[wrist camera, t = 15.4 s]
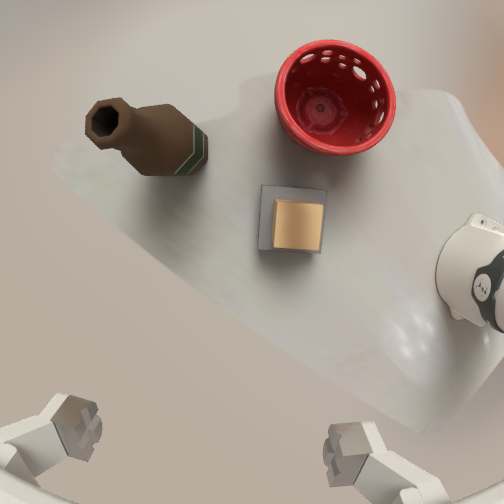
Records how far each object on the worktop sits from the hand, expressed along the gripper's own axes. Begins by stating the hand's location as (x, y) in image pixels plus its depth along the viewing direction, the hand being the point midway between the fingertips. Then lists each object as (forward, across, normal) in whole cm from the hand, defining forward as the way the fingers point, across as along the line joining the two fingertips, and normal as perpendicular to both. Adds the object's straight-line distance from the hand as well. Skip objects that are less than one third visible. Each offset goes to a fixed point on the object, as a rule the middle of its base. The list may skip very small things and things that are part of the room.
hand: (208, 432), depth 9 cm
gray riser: (+35, -6, -3) cm, 36 cm away
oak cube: (+31, -6, -3) cm, 32 cm away
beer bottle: (+36, +9, -12) cm, 38 cm away
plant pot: (+35, -9, -18) cm, 41 cm away
